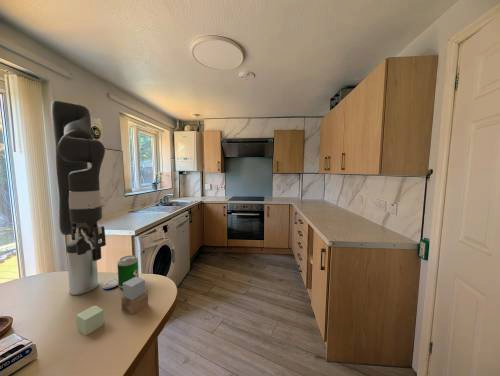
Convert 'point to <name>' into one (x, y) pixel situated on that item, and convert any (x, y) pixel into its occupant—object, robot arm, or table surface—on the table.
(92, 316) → the sage cube
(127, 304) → the walnut block
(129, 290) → the slate cube
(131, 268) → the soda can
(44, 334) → the table surface
